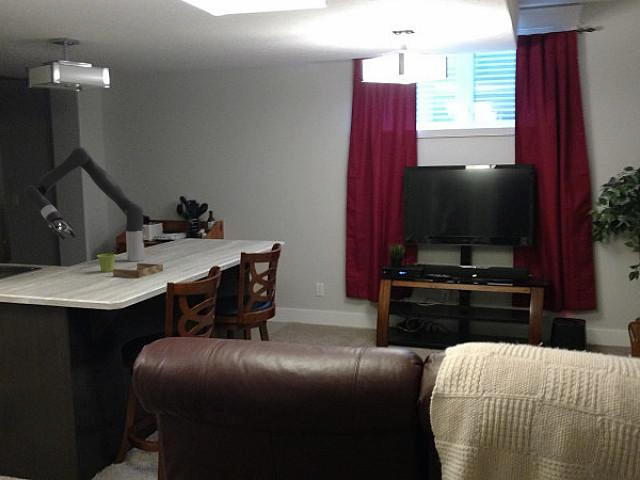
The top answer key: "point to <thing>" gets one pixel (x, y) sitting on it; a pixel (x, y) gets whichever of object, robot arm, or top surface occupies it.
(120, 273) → the wooden u bracket
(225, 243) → the top surface
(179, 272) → the top surface
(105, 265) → the plant pot
